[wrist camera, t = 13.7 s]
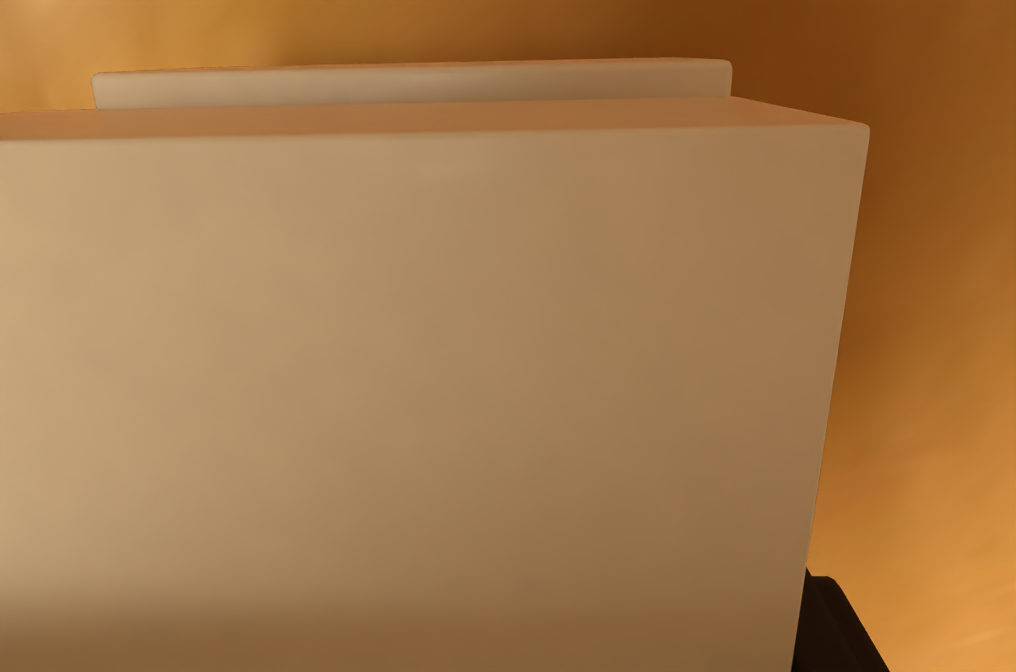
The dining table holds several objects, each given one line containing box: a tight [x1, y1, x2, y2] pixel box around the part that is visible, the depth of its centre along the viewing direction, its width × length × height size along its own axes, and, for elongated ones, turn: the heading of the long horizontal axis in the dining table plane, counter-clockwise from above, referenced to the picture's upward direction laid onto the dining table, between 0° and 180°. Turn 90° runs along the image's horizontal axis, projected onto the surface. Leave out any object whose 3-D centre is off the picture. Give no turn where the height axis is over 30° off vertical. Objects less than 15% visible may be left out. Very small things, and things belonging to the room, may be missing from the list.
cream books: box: [91, 57, 733, 109], centre depth 13 cm, size 12×7×6 cm, turn 1°
